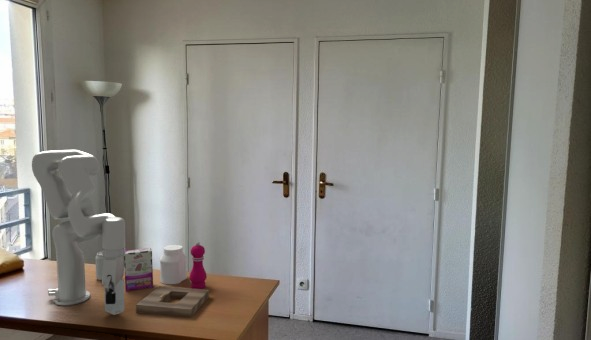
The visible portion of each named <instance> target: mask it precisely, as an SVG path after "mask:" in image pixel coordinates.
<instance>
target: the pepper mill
mask: <svg viewBox="0 0 591 340" xmlns="http://www.w3.org/2000/svg"><path fill="white" fill-rule="evenodd" d="M205 252H206V249H205V247H204V246H203V245H201V242H199V241H196V242H195V245H193V246H192V247H191V248H190V254H191V261H192V268H191V270H190V273H189V280H190V288H191V289H204V288H206V284H207V283H206V280H207V276H208V275H207V272H206V270H205V267H204V262H203V261H204V259H205V257H204V255H205Z"/></svg>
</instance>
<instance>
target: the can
mask: <svg viewBox="0 0 591 340" xmlns="http://www.w3.org/2000/svg"><path fill="white" fill-rule="evenodd" d="M94 259H95V278H96V279H97V280H98V281H101V282H102V269H103V260H104V258H103V257H102V251H99V252H97V253H96V256H95V258H94Z"/></svg>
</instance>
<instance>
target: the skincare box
mask: <svg viewBox="0 0 591 340" xmlns="http://www.w3.org/2000/svg"><path fill="white" fill-rule="evenodd" d="M113 284H114V283H110V285H113ZM110 288H111V289H112V288H113V286H110ZM105 292H106V291H105V290H104V312H107V313H109V314H111V315H113V316H115V315H118V314H121V313H123V312H124V311H125V279H123V278H122V279H120V281H119V282H118V284H117V285H115V292H114V293H116V303H115V304H106V294H105Z"/></svg>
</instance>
